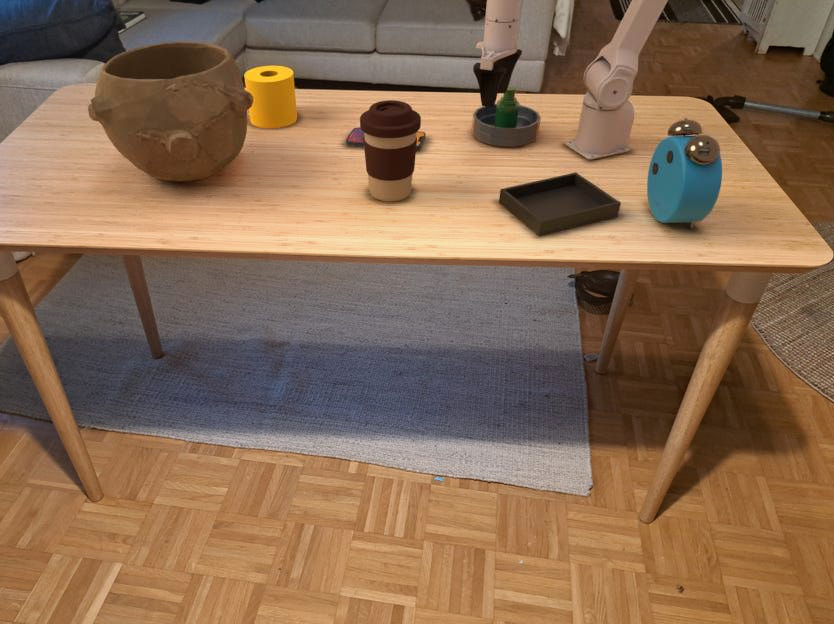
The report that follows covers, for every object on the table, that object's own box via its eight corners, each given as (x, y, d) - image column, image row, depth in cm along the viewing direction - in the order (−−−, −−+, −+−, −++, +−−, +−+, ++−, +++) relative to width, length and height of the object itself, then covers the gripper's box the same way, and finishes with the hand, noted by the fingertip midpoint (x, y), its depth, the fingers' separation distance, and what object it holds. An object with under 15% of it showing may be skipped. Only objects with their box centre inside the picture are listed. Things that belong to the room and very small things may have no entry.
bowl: (80, 175, 127) (44, 63, 113) (204, 128, 142) (186, 25, 129) (164, 223, 112) (135, 102, 99) (292, 165, 128) (281, 54, 115)
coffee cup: (424, 203, 116) (427, 116, 106) (366, 209, 115) (364, 121, 105) (411, 177, 123) (413, 94, 113) (357, 182, 122) (355, 98, 112)
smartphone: (354, 131, 140) (354, 126, 139) (426, 136, 136) (426, 131, 136) (344, 146, 134) (344, 141, 133) (419, 152, 131) (419, 146, 130)
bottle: (508, 127, 139) (513, 83, 133) (519, 134, 136) (525, 90, 130) (489, 130, 137) (494, 86, 132) (500, 138, 134) (505, 93, 129)
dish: (514, 118, 143) (517, 99, 141) (550, 141, 134) (553, 121, 131) (460, 129, 140) (461, 109, 137) (492, 153, 130) (495, 133, 128)
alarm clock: (705, 238, 106) (737, 145, 96) (665, 239, 106) (694, 147, 96) (674, 198, 116) (700, 110, 106) (638, 199, 116) (661, 111, 106)
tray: (573, 185, 120) (575, 172, 118) (617, 216, 111) (621, 202, 110) (498, 202, 116) (500, 188, 114) (538, 236, 107) (541, 222, 106)
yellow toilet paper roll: (243, 126, 143) (236, 80, 136) (259, 108, 150) (254, 64, 144) (288, 130, 141) (284, 83, 135) (303, 111, 148) (299, 67, 142)
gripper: (492, 5, 122) (485, 83, 130) (465, 27, 112) (460, 109, 121) (531, 9, 119) (521, 87, 128) (507, 31, 109) (498, 115, 118)
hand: (494, 98), depth 124 cm, fingers open, 7 cm apart
